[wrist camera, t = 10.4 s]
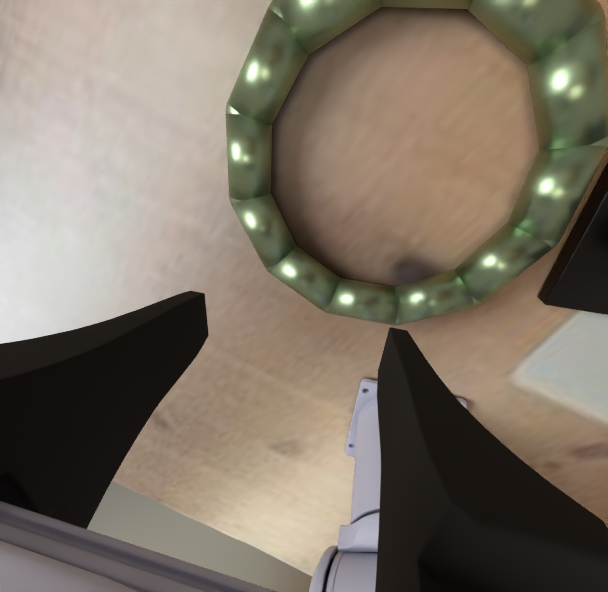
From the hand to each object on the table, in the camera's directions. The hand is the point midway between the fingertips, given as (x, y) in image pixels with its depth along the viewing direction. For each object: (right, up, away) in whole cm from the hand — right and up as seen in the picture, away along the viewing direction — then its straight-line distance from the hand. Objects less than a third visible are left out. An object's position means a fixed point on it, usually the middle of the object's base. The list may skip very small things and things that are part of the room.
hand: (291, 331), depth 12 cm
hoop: (+5, +8, +4) cm, 10 cm away
